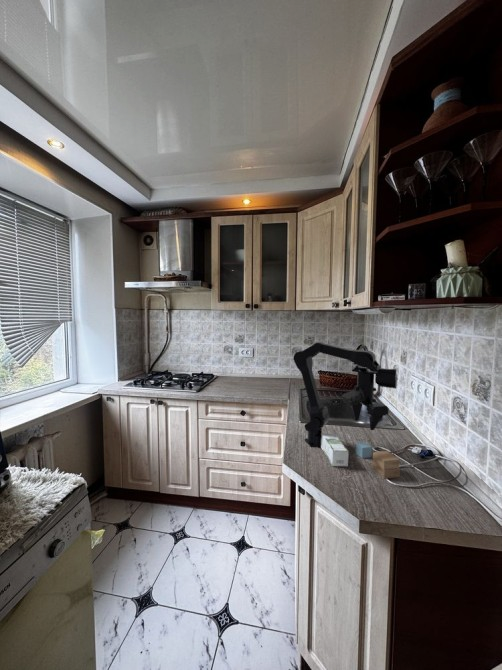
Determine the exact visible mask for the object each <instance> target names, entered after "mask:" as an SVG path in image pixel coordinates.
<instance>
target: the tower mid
mask: <svg viewBox="0 0 502 670" xmlns="http://www.w3.org/2000/svg"><path fill="white" fill-rule="evenodd" d="M372 461H373V462H375V463H376V464H377V465H378V466H380V467H381V468H382V469H383V470H387V469H395V468H400V459H399V457H398V458H397V456H396V455H394V454H392V453H391V452H389V451H388V450H385V451H384V450H383V451H376V452H375V451H374V452H373V451H372Z"/></svg>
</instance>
